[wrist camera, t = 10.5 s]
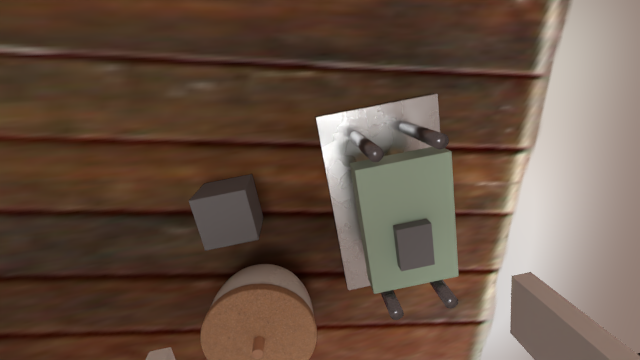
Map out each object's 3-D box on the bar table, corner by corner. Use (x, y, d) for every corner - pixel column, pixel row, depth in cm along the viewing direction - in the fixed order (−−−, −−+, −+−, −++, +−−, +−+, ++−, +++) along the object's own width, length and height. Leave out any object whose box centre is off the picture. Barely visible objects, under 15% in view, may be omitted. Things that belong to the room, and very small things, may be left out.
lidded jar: (235, 234, 34) (215, 286, 25) (326, 263, 36) (337, 321, 27) (206, 313, 37) (179, 386, 28) (293, 336, 39) (293, 411, 30)
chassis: (346, 284, 37) (362, 345, 29) (315, 116, 31) (323, 129, 23) (445, 264, 38) (490, 317, 29) (433, 93, 32) (485, 97, 23)
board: (367, 277, 31) (376, 301, 28) (349, 163, 28) (357, 174, 25) (445, 261, 32) (463, 282, 28) (437, 145, 28) (457, 153, 25)
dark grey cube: (217, 227, 34) (205, 250, 29) (204, 183, 32) (188, 201, 28) (263, 217, 34) (258, 239, 29) (252, 174, 33) (244, 189, 28)
